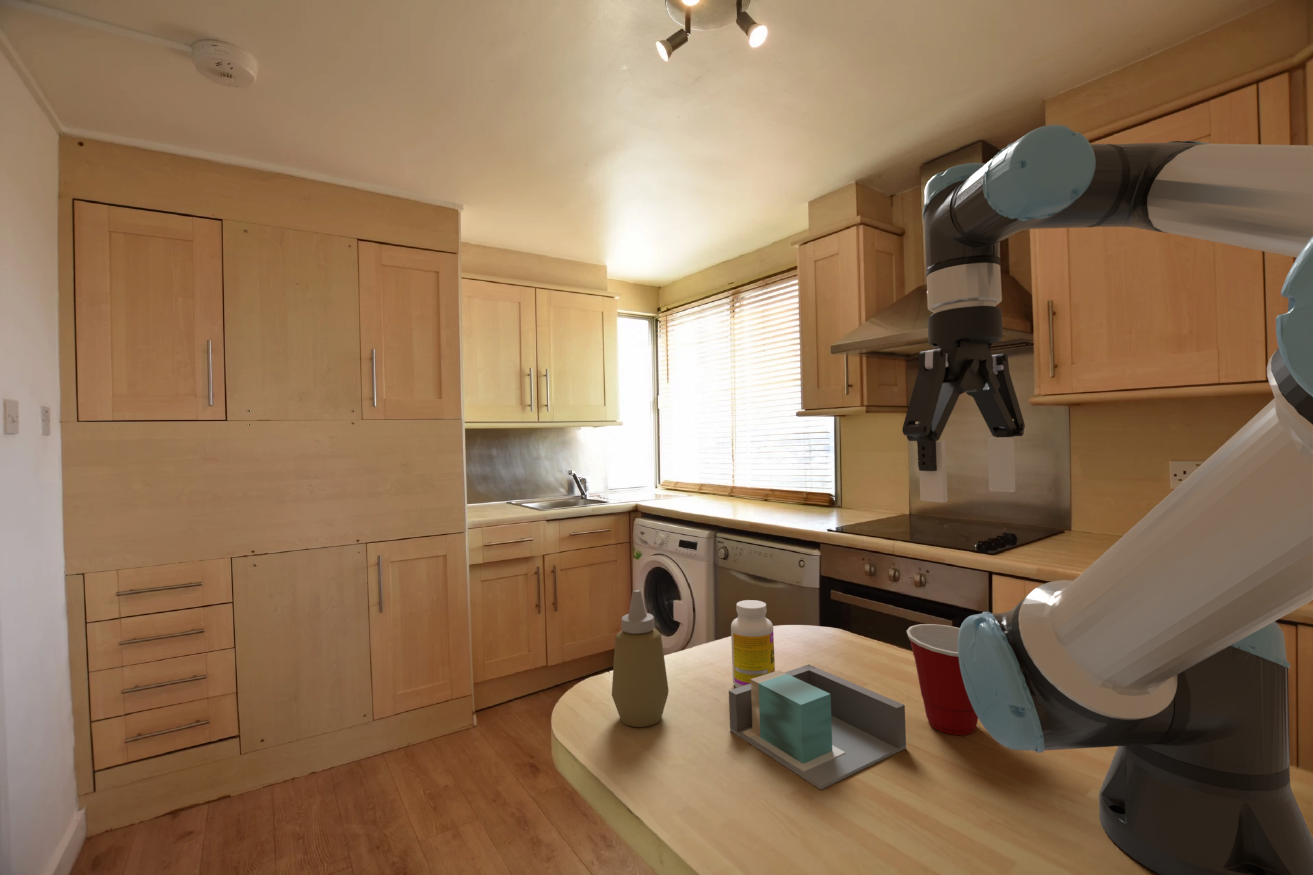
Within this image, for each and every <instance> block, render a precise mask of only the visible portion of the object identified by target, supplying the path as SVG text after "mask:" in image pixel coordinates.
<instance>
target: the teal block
mask: <svg viewBox="0 0 1313 875" xmlns="http://www.w3.org/2000/svg"><path fill="white" fill-rule="evenodd" d="M751 699H752V728H753V733H754V734H756V735H757V736H759V737H761V738H762V739H764V740H765V741H767V742H769V743H770V744H772V745H774V746H775V747H777V748H778V749H780V750H782V751H783V752H785V753H786V754H788V755H790V756H791V757H793V758H794V759H796V760H798V761H799V762H801V763H802V764H804V763H806V762H808V761H811V760H813V759H815V758H817V757H820V756H822V755H824V754H826V753H829V752H831V751H832V723H831V694H830V693H828V692H825V691H823V690H821V689H819V688H817V687H815V686H812V685H810V684H808V683H806V682H804V681H801V680H799V679H797V678H795V677H793V676H791V675H788V674H786V673H784V671H782V670H780V669H778V670H775V672H772V673H769V674H766V675H763V676H760V677H756V678H753V679H751Z"/></svg>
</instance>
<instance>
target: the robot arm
mask: <svg viewBox="0 0 1313 875" xmlns="http://www.w3.org/2000/svg"><path fill="white" fill-rule="evenodd" d="M923 203H924V205H923V209H922V219H923V220H922V221H923V229H924V230H923V231H924V232H923V234H924V252H925V271H926V282H927V283H926V290H927V291H926V296H927V310H928V311H930V312H932V314H931V315H929V317H928V318H927V341H928V345H929V347H931V348H933V349H930V350H928V349H927V350H923V351H920V352H919V353H918V368H917V369H918V371H917V375H916V379H915V382H914V384H913V385H914V386H913V388H912V393H911V395H910V396H911V397H910V401H909V404H908V407H907V410H906V415H905V418H904V422H903V424H902V425H903V426H902V428H901V429H902V433H903V435H904V436H906V439H907V441H909V442H916V444H917V446H916V447H917V467H918V471H919V473H918V474H919V495H920V496H919V500H920V501H921V502H932V503H943V504H945V503H948V479H947V478H948V475H947V474H948V473H947V446H946V445H947V444H946V443H947V441H946V440H940V438H941V436H942V434H943V432H944V429H945V427H946V425H947V424H948V420H949V419H950V418H951V417H950V416H951V414H952V412H953V411H954V408H955V406H956V404H957V402H958V399H959V398H960V395H962V394H964V393H966V394H967V395H968V396H970V397H972V398H973V400H974V403H975V404H976V406H977V408H978V410H979V412H980V414H981V416H982V418H983V420H984V421H985V424H986V425H987V427H988V429H989V431H990V434H991V437H987V438H986V439H987V463H988V466H987V468H988V471H987V472H988V492H999V493H1001V492H1002V493H1016V472H1015V471H1016V470H1015V468H1016V466H1015V463H1016V462H1015V439H1014V438H1015V437H1023V435H1024V433H1025V429H1026V428H1025V427H1026V425H1025V424H1026V423H1025V421H1024V418H1023V414H1022V411H1021V407H1020V404H1019V400H1018V397H1017V394H1016V390H1015V386H1014V383H1013V381H1012V377H1011V374H1010V366H1009V365H1010V364H1009V356H1008V354H1007V353H998V354H992V351H991V346H992V345H993V344H996V343H998V342H1000V341H1001V340H1002V339H1003V337H1004V336H1003V334H1004V333H1003V331H1004V330H1003V310H1002V309H1000V307H998V306H997V305H999V304H1000V303H1002V301H1003V294H1002V277H1001V275H1002V274H1001V242H1002V241H1004V240H1006V239H1007V238H1010V237H1012V236H1013V235H1014V236H1015V234H1017V233H1019V232H1022V231H1025V230H1037V229H1038V230H1040V229H1045V230H1046V229H1077V228H1079V229H1081V228H1098V227H1099V228H1101V227H1102V228H1104V227H1105V228H1120V227H1121V228H1132V229H1133V228H1134V229H1140V230H1145V231H1151V232H1157V233H1164V234H1171V235H1176V236H1177V235H1178V236H1182V237H1187V238H1191V239H1198V240H1202V241H1207V242H1208V241H1209V242H1213V243H1218V244H1224V245H1229V246H1234V247H1240V248H1244V249H1249V250H1255V251H1261V252H1264V253H1272V254H1276V255H1281V256H1287V257H1292V258H1296V259H1295V260H1294V262H1293V264H1292V265H1291V267H1290V270H1289V271H1288V273H1287V275H1286V277H1285V280H1284V282H1283V285H1282V288H1281V290H1280V295H1281V297H1283V298H1287V299H1288V306H1287V312H1286V313H1282V314H1279V315H1277V316H1276V317H1275V335H1276V342H1277V346H1278V347H1277V349H1276V350H1275V351H1274V352H1273V354H1271V356H1270V358H1269V359H1268V362H1267V366H1266V377H1267V380H1268V383H1269V386H1270V389H1271V391H1272V393H1273V397H1274V398H1272V400H1270V402H1268V403H1267V404H1266V405H1265V406H1264V407H1263V408H1262V409H1261V410H1260V411H1258V413H1256V414H1255V415H1254V416H1253V417H1252V418H1251V419H1250V420H1248V422H1246V424H1244V425H1243V426H1242V427H1240V429H1239V430H1238V431H1237V432H1235V433H1234V434H1233V435H1232V436H1231V437H1230V438H1229V439H1228V440H1226V441H1225V443H1223V445H1221V446H1220V447H1219V448H1218V449H1217V450H1216V451H1215V452H1213V453H1212V455H1210V456H1209V457H1208V458H1207V459H1206V460H1205V461H1204V462H1203V463H1201V465H1199V466H1198V467H1197V468H1196V469H1195V470H1194V471H1193V472H1191V474H1189V475H1188V476H1187V477H1186V478H1185V479H1184V480H1182V482H1181V483H1180V484H1178V485H1177V486H1176V487H1175V488H1174V489H1173V490H1172V491H1171V492H1170V493H1169V494H1168V495H1166V496H1165V497H1164V498H1162V500H1161V501H1160V502H1158V503H1157V504H1156V505H1155V506H1154V507H1153V508H1152V509H1151V510H1150V511H1148V513H1147V514H1146V515H1145V516H1143V517H1142V518H1141V519H1140V520H1139V521H1138V522H1137V523H1136V524H1134V525H1133V526H1132V527H1131V528H1130V529H1129V530H1128V531H1127V532H1126V533H1125V534H1123V535H1122V537H1120V538H1119V539H1118V540H1116V541H1115V543H1114V544H1113V545H1111V547H1109V548H1108V549H1107V550H1106V551H1105V552H1104V553H1103V554H1102V555H1101V556H1099V557H1098V558H1096V560H1095V561H1094V562H1092V563H1091V565H1089V566H1088V567H1087V568H1086V569H1085V570H1084V571H1083V572H1082V573H1081V574H1080V575H1078V576H1077V577H1076V578H1075V579H1074V580H1069V579H1068V580H1067V579H1062V580H1054V581H1049V582H1046V583H1043V584H1041V585H1039V586H1037V587H1035V588H1033V590H1031V591H1030V592H1029V593H1028V594H1027V595H1026V596H1025V597H1024V598H1023V599H1021V600H1020V601H1019V603H1017V605H1016V606H1015V607H1014V608H1012V609H1011V610H1007V611H1005V612H996V613H991V612H990V611H983V612H982V613H978V614H972V615H969V616H967V617H966V618H965V619H964V620H963V622H962V623H961V625H960V627H959V628H960V630H959V635H958V656H959V664H960V670H961V674H962V678H963V682H964V685H965V689H966V692H967V694H968V697H969V700H970V702H971V704H972V707H973V709H974V711H975V713H976V715H977V717H978V720H979V722H980V724H981V725H982V727H984V729H985V730H986V731H987V732H988V734H989V735H990V736H991V737H992V739H994V740H995V741H996V742H997V743H998V744H999V745H1001V746H1003V747H1005V748H1007V749H1009V750H1014V751H1027V752H1028V751H1032V752H1035V753H1039V754H1041V753H1043V752H1045V751H1059V750H1074V749H1092V748H1093V749H1094V748H1109V747H1111V748H1112V747H1117V748H1116V750H1115V753H1114V755H1113V757H1112V760H1111V763H1110V765H1109V768H1108V770H1107V772H1106V774H1105V777H1104V780H1103V782H1102V784H1101V787H1100V790H1099V795H1098V808H1099V809H1098V810H1099V812H1098V813H1099V822H1100V823H1101V827H1102V828H1103V830H1104V831H1105V833H1106V834H1107V835H1108V837H1109V839H1111V841H1113V842H1114V843H1115V844H1116V845H1117V846H1118V847H1119V848H1120V849H1121V850H1122V851H1123V852H1124V853H1126V854H1128V856H1130V857H1131V858H1133V859H1134V860H1135V861H1137V862H1138V863H1140V864H1141V865H1143V866H1144V867H1146V868H1148V869H1149V870H1150V871H1153V872H1155V873H1156V874H1158V875H1313V835H1312V833H1311V831H1310V829H1309V827H1308V824H1307V822H1306V819H1305V817H1304V815H1303V813H1302V811H1301V808H1300V807H1299V804H1298V801H1297V800H1296V798H1295V795H1294V793H1293V790H1292V788H1291V774H1290V773H1291V771H1290V769H1291V768H1290V763H1291V761H1290V760H1291V759H1290V758H1291V757H1290V756H1291V755H1290V705H1289V704H1290V701H1289V699H1290V698H1289V669H1290V668H1291V663H1290V662H1289V661H1288V660H1287V651H1286V643H1285V642H1286V641H1285V633H1284V632H1283V629H1282V628H1281V626H1280V625H1279V624H1278V623H1277V621H1278V620H1279V619H1281V618H1283V617H1285V616H1286V615H1289V614H1291V613H1292V612H1294V611H1296V610H1298V609H1300V608H1301V607H1303V606H1305V605H1307V604H1309V603H1311V602H1312V601H1313V145H1311V144H1310V145H1306V144H1303V145H1301V144H1292V145H1291V144H1253V143H1252V144H1249V143H1248V144H1247V143H1246V144H1245V143H1243V144H1242V143H1212V142H1200V141H1197V140H1183V141H1181V140H1175V141H1173V140H1172V141H1168V142H1141V143H1136V142H1135V143H1114V144H1113V143H1106V144H1105V143H1090V141H1089V140H1088V138H1087V137H1086V136H1084V134H1082V133H1081V132H1076V131H1074V130H1072V129H1070V128H1069V126H1066V125H1063V124H1047V125H1043V126H1040V127H1037V128H1035V129H1032V130H1031V131H1029V132H1027V133H1026V134H1025V135H1023V136H1021V137H1020V138H1018V139H1017V140H1015V141H1014V142H1010V143H1009V144H1007V146H1006V147H1004V148H1002V149H1001V150H1000V151H999V152H997V153H996V155H994V156H993V158H991V159H990V160H989V161H987V162H986V163H985V162H984V163H983V162H968V163H961V164H957V165H955V166H954V165H953V166H952V167H948V168H947V169H946V170H945V171H941V172H938V173H936V174H935V175H933V176H932V177H931V178H930V179H929V180H928V181H927V183H926V185H925V187H924V202H923ZM992 436H993V437H992ZM939 440H940V441H939Z"/></svg>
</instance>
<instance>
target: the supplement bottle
mask: <svg viewBox="0 0 1313 875" xmlns="http://www.w3.org/2000/svg"><path fill="white" fill-rule="evenodd" d="M735 606H736V607H735V608H736V614H737V617H736V618H734V619H733V620H732V622H731V625H730V635H731V636H730V637H731V640H730V642H731V663H732V664H731V665H732V683H733V686H735V688H738V687H741V686H744V685H747V684H750V683H751V679H753V678H756V677H760V676H763V675H766V674H769V673H772V672H775V671H776V669H775V668H776V666H775V642H774V641H775V640H774V625H773V623H772V621H771V620H770V619H768V618H767V617H766V614H767V612H768V611H767V610H768V609H767V603H766V602H764V601H761V600H754V599H752V600H751V599H745V600H740V601H738V602H736V605H735Z"/></svg>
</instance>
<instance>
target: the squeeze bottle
mask: <svg viewBox="0 0 1313 875" xmlns="http://www.w3.org/2000/svg"><path fill="white" fill-rule="evenodd" d="M630 598H631V599H630V603H629V604H630V605H629V609H628V613H627V614H624V615H623V616H622V617H621V619H620V620H621V626H620V627H621V630H620V631H618V632H617V633H616V635H615V639H614V653H613V654H614V656H613V667H612V668H613V669H612V670H613V671H612V683H611V684H612V685H611V696H612V700H613V703H614V705H615V707H616V712H617V713H618V716H619V719H620V721H621V722H622V724H624V725H626V726H629V727H632V728H635V727H636V728H644V727H645V728H646V727H650V726H653V725H656V724H658V722H660V721H661V720H662V718H663V714H664V711H665V708H666V707H665V706H666V703H667V700H668V696H669V683H668V676H667V670H666V669H667V668H666V660H665V653H664V646H663V639H662V638H663V637H662V634H661V633H660V631H659V630H657V629H656V628H655V616H654V615H653V614H651V613H648V612H647V611H646V607H645V603H644V598H643V594H642V591H641V590H639V589H638V590H637V589H636V590H633V591H632V593H631V597H630Z"/></svg>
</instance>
